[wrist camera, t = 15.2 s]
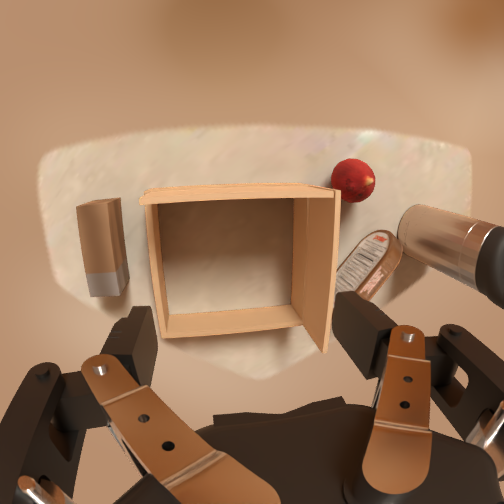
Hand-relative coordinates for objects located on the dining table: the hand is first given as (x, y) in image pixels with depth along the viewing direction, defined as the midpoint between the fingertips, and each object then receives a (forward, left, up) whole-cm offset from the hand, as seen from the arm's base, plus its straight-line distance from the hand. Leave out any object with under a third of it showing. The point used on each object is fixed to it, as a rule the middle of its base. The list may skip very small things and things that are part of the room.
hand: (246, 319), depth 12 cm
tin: (-20, +8, -27) cm, 35 cm away
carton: (-2, +5, -27) cm, 28 cm away
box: (+14, +2, -27) cm, 30 cm away
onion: (-18, -5, -27) cm, 33 cm away
